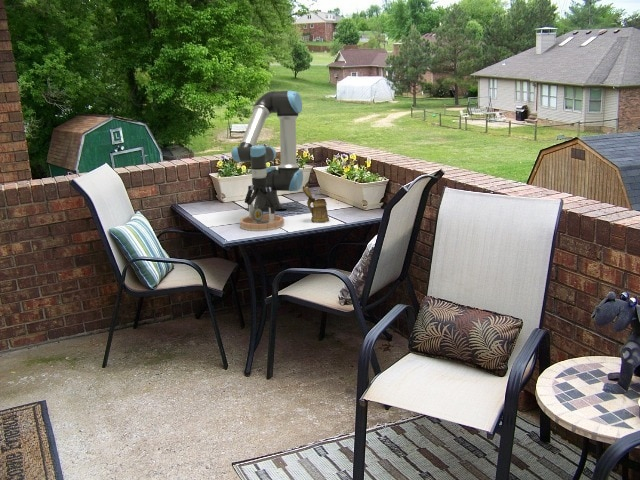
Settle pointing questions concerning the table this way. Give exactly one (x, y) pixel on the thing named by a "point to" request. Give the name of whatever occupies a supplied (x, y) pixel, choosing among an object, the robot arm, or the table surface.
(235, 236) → the table surface
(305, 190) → the wooden mug
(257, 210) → the pocket watch
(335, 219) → the table surface
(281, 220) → the round dish
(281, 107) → the robot arm
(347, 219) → the table surface
